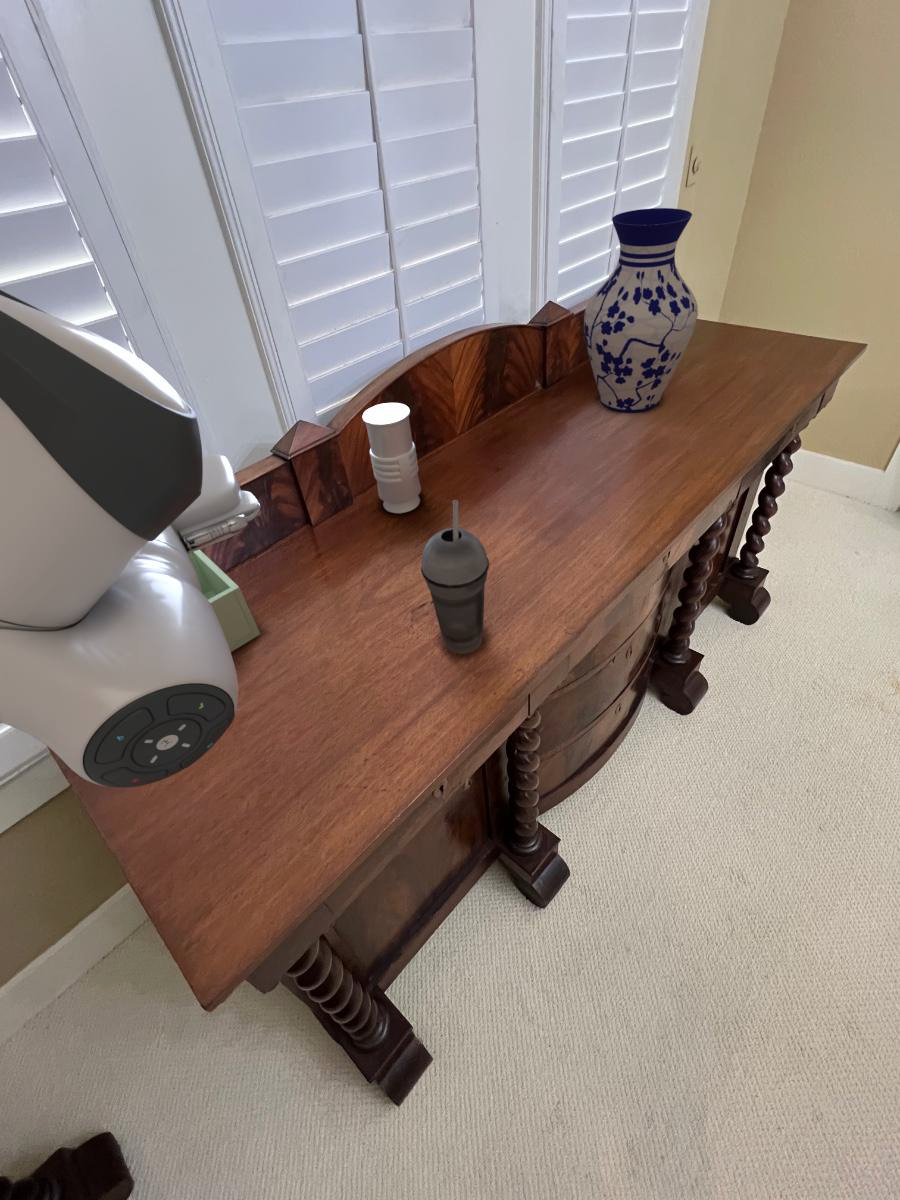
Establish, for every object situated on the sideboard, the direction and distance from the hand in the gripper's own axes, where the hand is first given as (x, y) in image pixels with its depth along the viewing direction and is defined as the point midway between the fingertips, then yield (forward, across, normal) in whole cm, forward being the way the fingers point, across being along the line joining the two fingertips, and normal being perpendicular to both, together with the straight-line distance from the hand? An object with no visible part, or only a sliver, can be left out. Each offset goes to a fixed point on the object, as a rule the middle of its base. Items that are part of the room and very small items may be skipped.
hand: (93, 487), depth 48 cm
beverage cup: (-9, -28, +28) cm, 40 cm away
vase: (+25, -87, +28) cm, 95 cm away
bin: (+12, 0, +28) cm, 30 cm away
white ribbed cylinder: (+22, -36, +28) cm, 51 cm away
